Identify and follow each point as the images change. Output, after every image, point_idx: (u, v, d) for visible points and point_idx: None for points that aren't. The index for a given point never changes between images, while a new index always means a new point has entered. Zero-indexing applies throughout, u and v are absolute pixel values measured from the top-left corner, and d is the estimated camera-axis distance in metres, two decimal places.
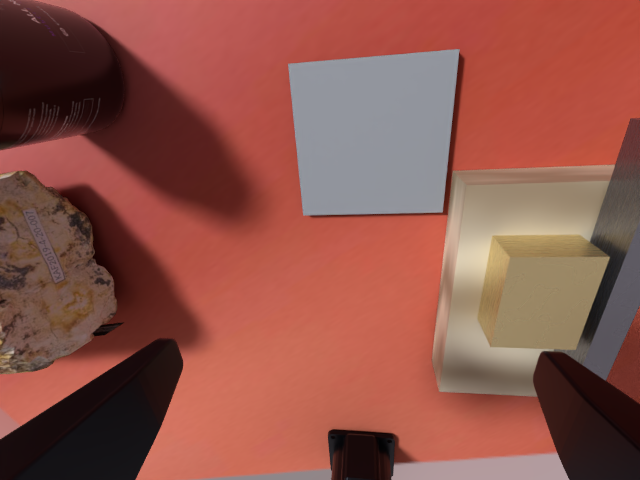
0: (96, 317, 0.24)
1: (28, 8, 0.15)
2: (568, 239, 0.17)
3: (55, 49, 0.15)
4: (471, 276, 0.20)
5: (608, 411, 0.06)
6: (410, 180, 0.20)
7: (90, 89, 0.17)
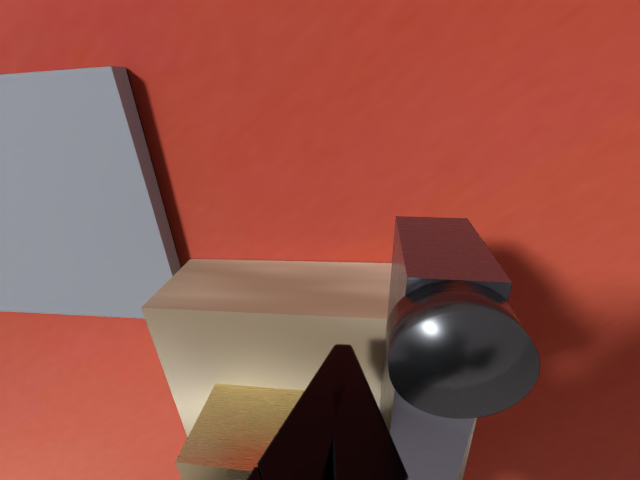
0: None
1: None
2: None
3: None
4: None
5: (336, 396, 0.06)
6: (121, 272, 0.12)
7: None
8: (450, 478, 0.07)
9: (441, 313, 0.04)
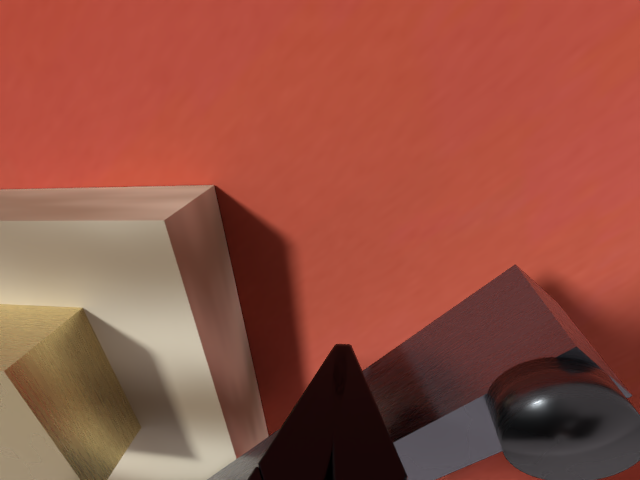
0: None
1: None
2: (44, 317, 0.10)
3: None
4: None
5: (336, 396, 0.06)
6: None
7: None
8: None
9: (613, 400, 0.05)
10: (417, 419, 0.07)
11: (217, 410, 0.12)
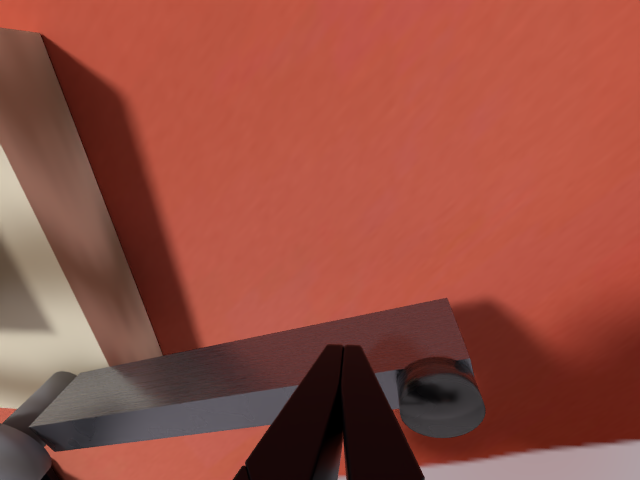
0: None
1: None
2: None
3: None
4: None
5: (348, 397, 0.06)
6: None
7: None
8: None
9: (476, 393, 0.08)
10: None
11: (54, 263, 0.12)
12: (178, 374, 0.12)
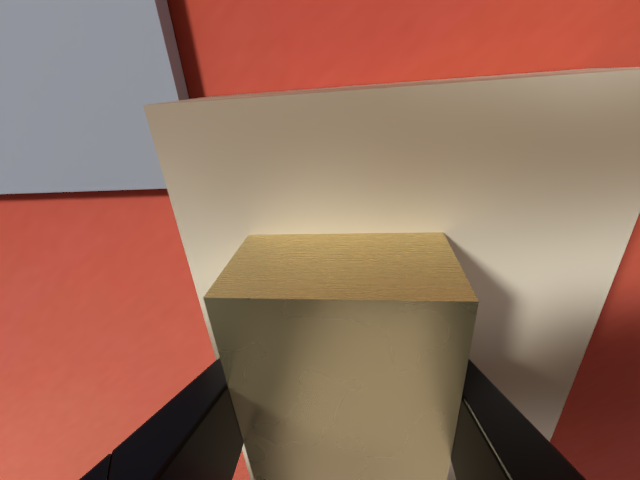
0: None
1: None
2: (407, 243, 0.07)
3: None
4: None
5: (473, 404, 0.06)
6: (114, 116, 0.09)
7: None
8: None
9: None
10: None
11: (566, 381, 0.09)
12: None
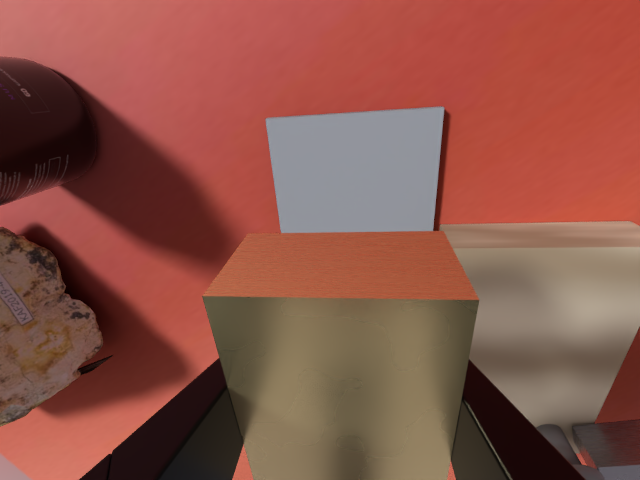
0: (77, 353, 0.22)
1: None
2: (408, 242, 0.07)
3: (14, 114, 0.14)
4: None
5: (473, 404, 0.06)
6: None
7: (56, 148, 0.16)
8: None
9: None
10: None
11: (619, 362, 0.18)
12: None
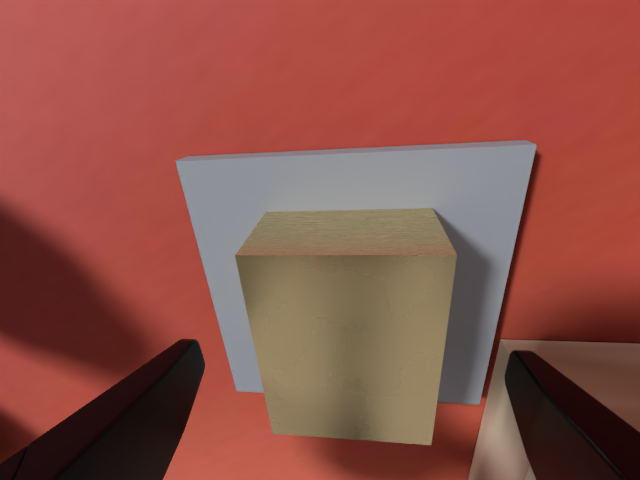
0: None
1: None
2: (401, 216, 0.08)
3: None
4: None
5: (568, 409, 0.06)
6: None
7: None
8: None
9: None
10: None
11: None
12: None
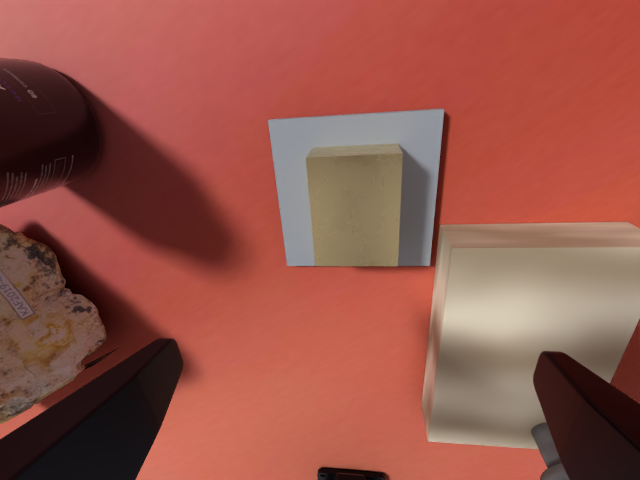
0: (80, 346, 0.22)
1: None
2: (381, 146, 0.17)
3: (21, 115, 0.15)
4: (459, 334, 0.19)
5: (608, 411, 0.06)
6: None
7: (61, 149, 0.17)
8: None
9: None
10: None
11: (616, 361, 0.19)
12: None
